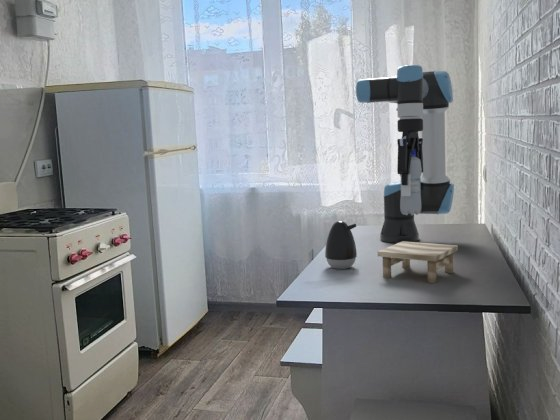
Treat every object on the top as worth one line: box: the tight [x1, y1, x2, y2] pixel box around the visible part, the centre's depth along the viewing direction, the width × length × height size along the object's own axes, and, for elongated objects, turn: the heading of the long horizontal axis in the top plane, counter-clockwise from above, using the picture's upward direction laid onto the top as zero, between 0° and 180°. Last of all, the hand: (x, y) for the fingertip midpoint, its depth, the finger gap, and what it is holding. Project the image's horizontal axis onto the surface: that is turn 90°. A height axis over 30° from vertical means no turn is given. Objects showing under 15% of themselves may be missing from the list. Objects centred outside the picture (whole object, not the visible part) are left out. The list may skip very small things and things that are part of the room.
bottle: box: [399, 150, 423, 216], centre depth 185 cm, size 7×7×20 cm
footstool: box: [377, 241, 459, 284], centre depth 184 cm, size 18×18×8 cm
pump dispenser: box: [324, 220, 358, 270], centre depth 197 cm, size 10×10×15 cm
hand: (410, 194), depth 185 cm, fingers closed on bottle, 6 cm apart
